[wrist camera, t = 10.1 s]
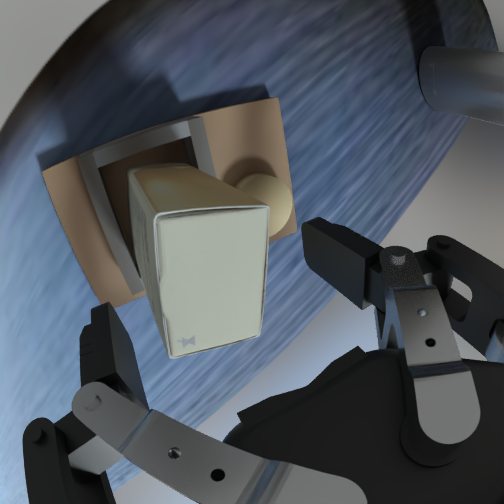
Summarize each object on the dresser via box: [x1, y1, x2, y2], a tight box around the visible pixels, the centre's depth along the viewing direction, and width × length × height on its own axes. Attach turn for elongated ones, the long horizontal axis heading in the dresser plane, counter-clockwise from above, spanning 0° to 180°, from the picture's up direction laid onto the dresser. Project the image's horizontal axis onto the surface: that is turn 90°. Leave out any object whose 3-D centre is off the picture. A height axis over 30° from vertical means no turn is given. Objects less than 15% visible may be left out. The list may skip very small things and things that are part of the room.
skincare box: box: [127, 163, 270, 359], centre depth 16 cm, size 6×4×12 cm
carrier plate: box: [42, 97, 297, 308], centre depth 21 cm, size 18×12×4 cm, turn 102°
